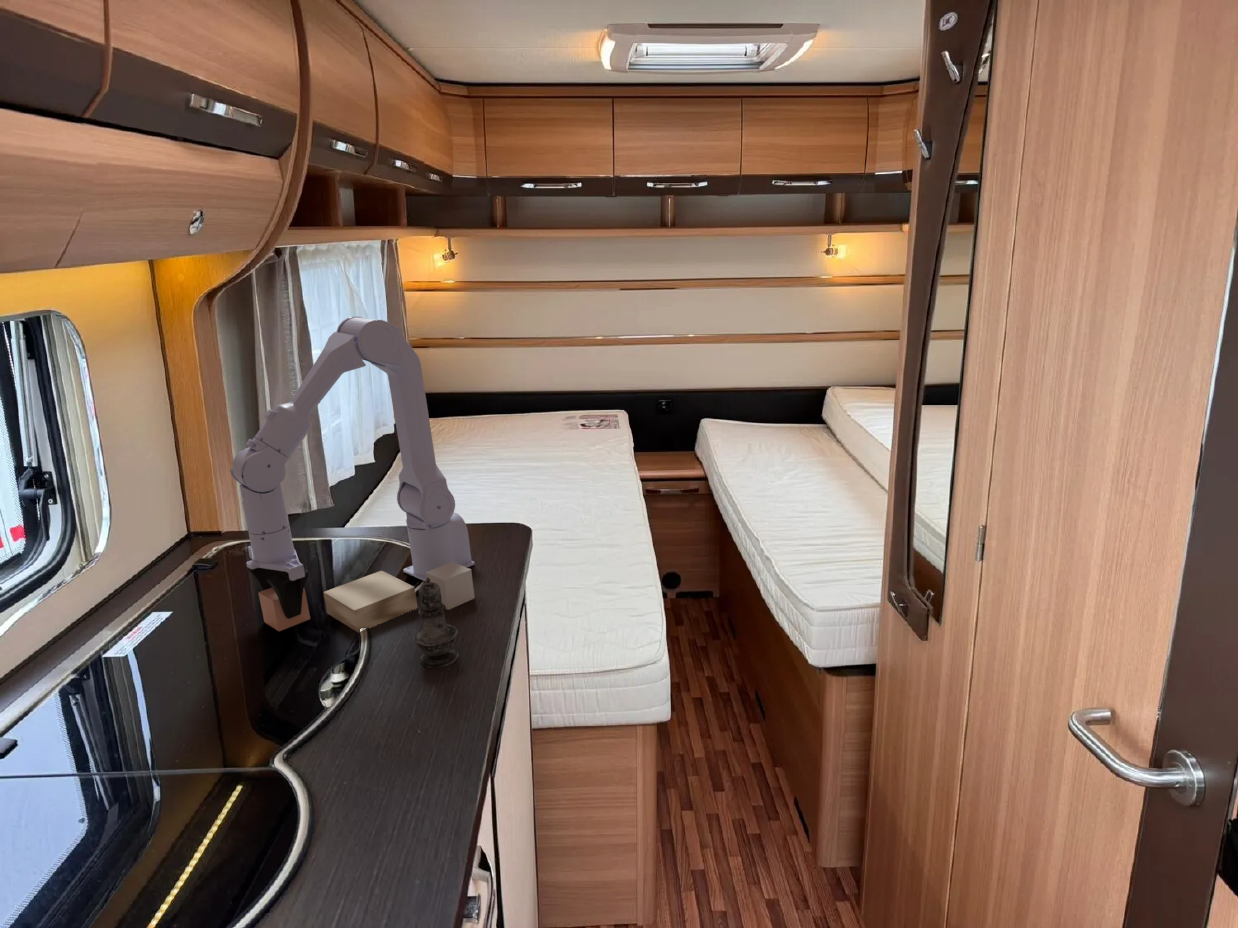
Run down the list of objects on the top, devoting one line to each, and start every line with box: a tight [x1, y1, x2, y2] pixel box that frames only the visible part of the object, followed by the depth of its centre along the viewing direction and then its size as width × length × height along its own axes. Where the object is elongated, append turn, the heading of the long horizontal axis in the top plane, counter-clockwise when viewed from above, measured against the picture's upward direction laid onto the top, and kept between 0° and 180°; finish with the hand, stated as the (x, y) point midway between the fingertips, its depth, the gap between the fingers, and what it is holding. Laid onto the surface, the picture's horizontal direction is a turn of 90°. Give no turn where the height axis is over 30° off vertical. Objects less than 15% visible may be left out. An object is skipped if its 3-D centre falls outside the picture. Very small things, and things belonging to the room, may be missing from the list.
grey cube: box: [426, 562, 475, 610], centre depth 135 cm, size 5×5×5 cm
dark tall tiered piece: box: [413, 577, 460, 669], centre depth 116 cm, size 6×6×12 cm
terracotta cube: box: [257, 588, 311, 632], centre depth 131 cm, size 5×5×5 cm
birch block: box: [323, 570, 419, 633], centre depth 133 cm, size 10×10×4 cm
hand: (285, 610), depth 132 cm, fingers closed on terracotta cube, 5 cm apart
